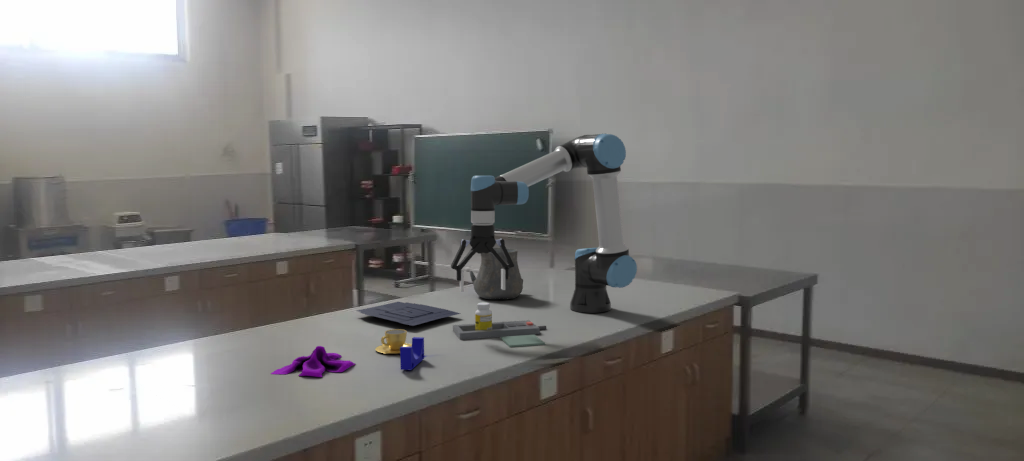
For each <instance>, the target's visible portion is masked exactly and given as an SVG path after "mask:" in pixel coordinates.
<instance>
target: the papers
mask: <svg viewBox="0 0 1024 461" xmlns="http://www.w3.org/2000/svg"><path fill="white" fill-rule="evenodd" d="M356 312H359V314H362V315H365V316H369V317H376V318H379V319H384V320H388V321H391V322H396V323H398V324H403V325H407V326H408V325H409V326H410V327H411V326H412V327H414V326H417V325H421V324H424V323H429V322H432V321H436V320H439V319H443V318H448V317H451V316H457V315H462V314H461V313H460V312H458V311H457V312H456V311H454V310H449V309H446V308H441V307H436V306H432V305H431V306H430V305H427V304H421V303H420V304H419V303H412V302H408V301H407V302H402V301H395V302H389V303H386V304H382V305H378V306H377V305H376V306H371V307H365V308H361V309H356Z"/></svg>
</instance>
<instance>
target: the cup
mask: <svg viewBox="0 0 1024 461" xmlns="http://www.w3.org/2000/svg"><path fill="white" fill-rule="evenodd" d="M407 333H408V331H407V330H405V329H401V328H400V329H399V328H396V329H394V328H393V329H388V330H385V331H384V335H383V336H382V337H381V338H380V343H381V345H378V346H376V347H375V351H376V352H378V353H383V354H400V347H402V346H408V347H412V343H407V342H406V341H407V335H408V334H407ZM385 341H386V342H385Z"/></svg>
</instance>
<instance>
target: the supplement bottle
mask: <svg viewBox="0 0 1024 461" xmlns="http://www.w3.org/2000/svg"><path fill="white" fill-rule="evenodd" d="M490 305H491V304H490V303H489V302H478V303H477V304H476V308H477V310H475V312H474V319H475V321H474V322H475V323H474V324H475V329H476V331H477V330H492V323H493V312H492V310H491V309H490V307H491V306H490Z"/></svg>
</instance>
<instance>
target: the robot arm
mask: <svg viewBox="0 0 1024 461" xmlns="http://www.w3.org/2000/svg"><path fill="white" fill-rule="evenodd" d="M626 155H627V150H626V146H625V144H624V142H623V141H622V139H621V138H619V137H618V136H617V135H616V134H611V133H599V134H598V133H597V134H596V133H595V134H584V135H581V136H578V137H575V138H573V139H571V140H569V141H567V142H565V143H563V144H561V145H558V146H556V147H555V149H554V151H552V152H549V153H547V154H545V155H543V156H541V157H538V158H536V159H533V160H532V161H530V162H527V163H525V164H523V165H521V166H518V167H516V168H514V169H512V170H510V171H508V172H505V173H503V174H500V175H498V176H496V177H495V176H494V175H473V176H472V177H471V181H470V223H471V226H470V239H469V240H468V239H463V238H461V240H460V246H459V248H458V249H457V252H456V254H455V256H454V258H453V261H452V263H451V264H450V268H451V269H452V270H455V271H456V281H458V282H459V291H460V292H464V286H465V284H464V282H465V281H464V280H465V279H464V276H465V274H464V270H463V269H464V268H465V266H466V265H467V264H468V262H470V260H471V259H472V257H473V256H474V255H476V253H477V254H480V255H481V253H489V252H491V254H492V255H493V256H494V257H495V258H496V259H497V261H498V262H499V263H500V264H501V265H502V266H503V268H504V269H501V289H502V290H505V279H508V270H509V268H511V267H514V264H513V262H512V260H511V257H510V255H509V253H508V251H507V249H508V248H507V247H506V245H505V244H506V242H505V239H503V238H499V239H495V232H496V231H495V227H496V226H495V225H494V224H495V222H496V221H495V217H496V216H495V215H496V214H495V212H496V211H495V210H496V209H495V208H496V206H514V205H516V206H518V205H524V204H526V203H527V202H528V200H529V196H530V195H529V194H530V193H529V192H530V191H529V187H530V186H533V185H535V184H537V183H540V182H541V181H543V180H546V179H548V178H551V177H552V176H554V175H556V174H559V173H561V172H565V173H566V172H567V173H569V171H572V170H576V169H580V168H581V169H582V168H586V173H587V176H588V177H590V178H591V180H592V187H593V196H594V199H593V200H594V207H595V216H596V225H597V226H596V227H597V237H598V238H597V239H598V247H589V248H587V247H586V248H585V247H583V248H577V249H576V250H575V255H574V290H573V294H572V297H571V299H570V303H569V304H570V305H569V308H570V309H569V310H571V311H574V312H578V313H587V314H588V313H591V314H592V313H595V314H596V313H606V312H609V311H611V309H612V303H611V299H610V297H609V293H608V290H607V286H608V287H611V288H619V289H620V288H622V289H623V288H626V287H628V286H629V285H631V283H632V282H633V280H634V279H635V278H636V275H637V271H638V266H637V262H636V260H635V259H634V258H633V257H632V256H630V252H629V250H630V249H629V246H628V245H626V243H624V234H623V224H622V216H621V214H622V212H621V205H620V203H621V201H620V194H619V192H620V191H619V184H618V176H619V175H620V173H621V172H622V169H621V166H622V165H623V164H624V161H625V160H626ZM496 244H497V246H498V247H499V248H501V250H502V252H503V254H504V256H505V259H506V261H507V263H508V264H506V263H505V262H504V261H503V259H502V258H501V257H500V256H499V255H498V254H497V252H496V251H495V250H494V249H493V248H495V246H496ZM468 245H470V246H471V248H470V249H469V250H468V253H467V254H465V256H464V257H463V258H462V256H463V255H464V254H463V253H464V252H465V249H466V248H467V247H468ZM461 258H462V259H461ZM460 260H461V261H460Z"/></svg>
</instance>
